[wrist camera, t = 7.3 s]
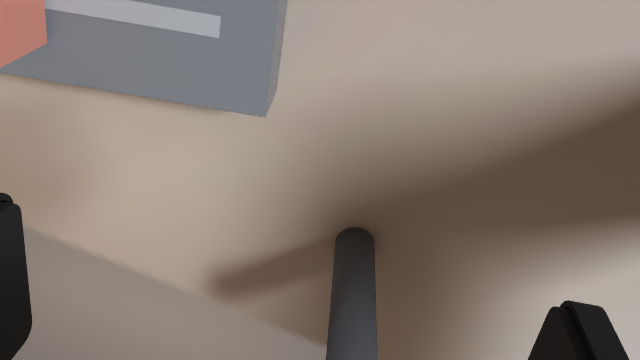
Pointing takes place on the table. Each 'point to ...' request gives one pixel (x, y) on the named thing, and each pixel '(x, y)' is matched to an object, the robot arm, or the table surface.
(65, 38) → the box
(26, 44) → the switch
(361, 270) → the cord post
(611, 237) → the table surface
